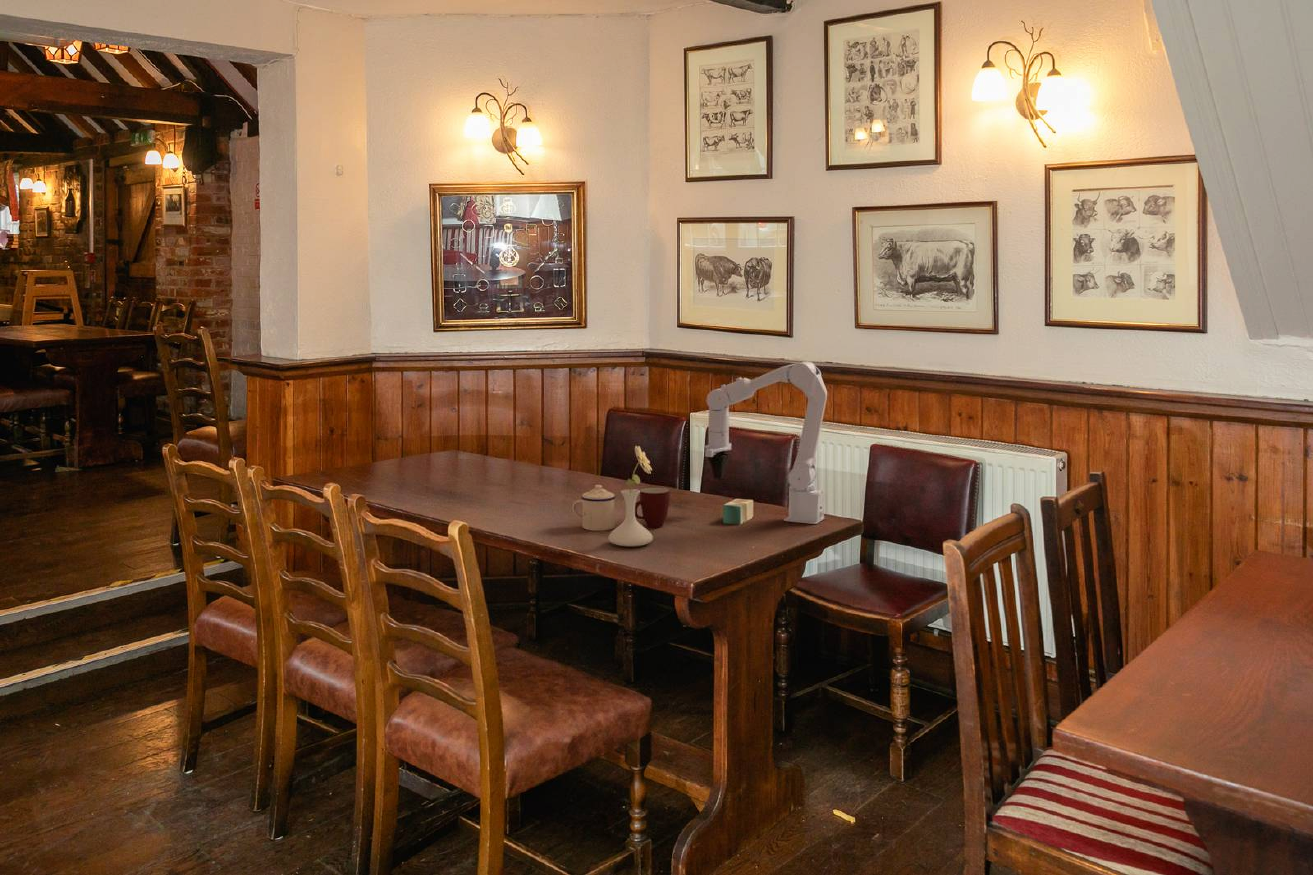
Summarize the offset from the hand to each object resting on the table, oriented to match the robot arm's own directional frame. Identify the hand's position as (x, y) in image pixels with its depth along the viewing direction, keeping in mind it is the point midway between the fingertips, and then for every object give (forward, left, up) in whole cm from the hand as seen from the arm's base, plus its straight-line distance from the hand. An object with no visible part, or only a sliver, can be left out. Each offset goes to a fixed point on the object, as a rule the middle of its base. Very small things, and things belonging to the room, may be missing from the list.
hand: (718, 478), depth 311 cm
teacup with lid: (+24, +30, -11) cm, 40 cm away
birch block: (-8, +10, -8) cm, 15 cm away
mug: (+10, +23, -11) cm, 27 cm away
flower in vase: (+6, +42, -11) cm, 44 cm away
